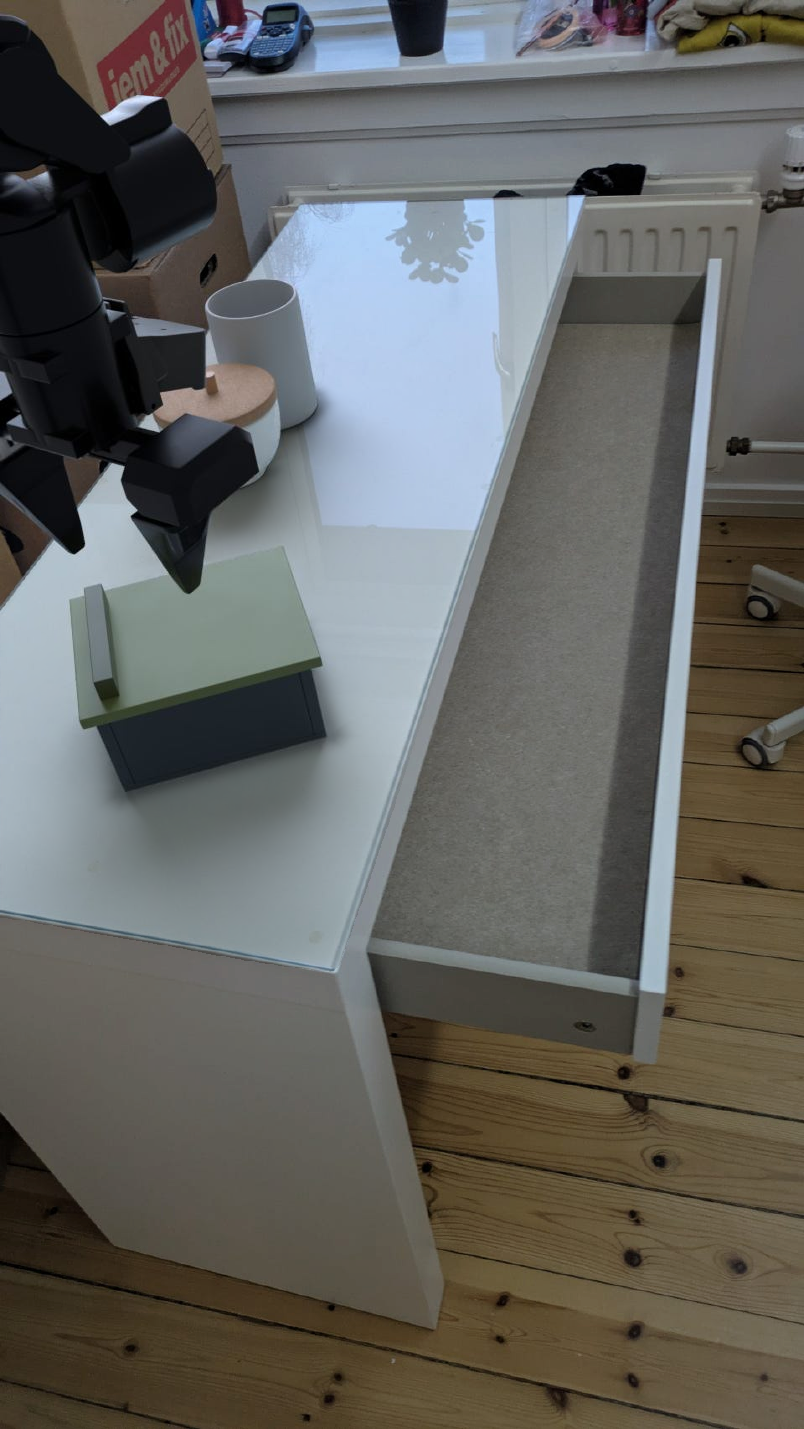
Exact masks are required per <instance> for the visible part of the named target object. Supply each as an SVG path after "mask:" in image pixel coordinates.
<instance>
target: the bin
mask: <svg viewBox="0 0 804 1429" xmlns="http://www.w3.org/2000/svg"><path fill="white" fill-rule="evenodd" d="M95 728H96V729H97V731H98V734H99V736H100V739H101V740H102V743H103V745H104V748H105V750H106V752H107V755H108V757H109V759H110V762H111V764H112V766H113V768H114V771H115V773H116V775H117V777H118V780H119V782H120V784H121V786H122V789H123V791H124V792H125V793H126V792H130V791H133V790H137V789H141V788H145V787H148V786H152V785H156V784H159V783H163V782H166V781H170V780H174V779H178V778H181V777H185V776H189V775H192V774H196V773H199V772H202V771H203V772H204V771H207V770H210V769H214V768H219V767H222V766H225V765H228V764H232V763H236V762H239V761H243V760H247V759H251V758H254V757H258V756H261V755H264V754H268V753H269V754H270V753H272V752H276V751H279V750H283V749H287V748H290V747H294V746H298V745H301V744H305V743H309V742H313V741H316V740H319V739H323V738H326V737H327V736H328V735H327V731H326V727H325V723H324V718H323V714H322V709H321V705H320V700H319V695H318V692H317V688H316V682H315V679H314V674H313V669H310V670H306V671H302V672H298V673H295V674H291V675H287V676H283V677H280V678H276V679H272V680H268V681H265V682H261V683H257V684H253V685H250V686H246V687H242V688H238V689H235V690H231V691H227V692H223V693H220V694H216V695H212V696H208V697H204V698H201V699H197V700H193V701H189V702H186V703H182V704H178V705H174V706H171V707H167V708H163V709H159V710H156V711H152V712H148V713H144V714H141V715H137V716H133V717H129V718H126V719H122V720H118V721H114V722H111V723H107V724H103V725H99V726H96V727H95Z"/></svg>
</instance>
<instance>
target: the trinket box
mask: <svg viewBox="0 0 804 1429" xmlns="http://www.w3.org/2000/svg"><path fill="white" fill-rule="evenodd" d="M160 394H161V398H162V402H163V406H162V407H160V408H159V409H157V410H156V411H155V412H153V413H152V414H151V415H152V417H153V421H154V422H155V423H156V425H157V429H158V432H160V431H161V430H163V429H164V428H166V427H167V426H168V425H170V424H171V423H172V422H174V421H175V420H177V419H178V418H179V417H181V416H182V415H183V414H185V413H187V414H191V415H195V416H199V417H203V418H207V419H212V420H216V421H220V422H224V423H228V424H232V425H236V426H238V427H240V428H242V429H244V430H246V431H248V432H250V433H251V438H252V442H253V446H254V450H255V455H256V459H257V464H258V468H259V473H257V474H256V475H255V476H254V477H253V478H251V479H250V480H249V481H248V482H246V483H245V484H244V485H243V486H242V487H240V488H239V489H241V488H244V487H246V486H250V485H252V484H253V483H255V482H256V481H258V480H259V479H260V478H261V477H262V476H263V475H264V474H265V472H266V470H267V467H268V466H269V464H271V462H272V460H273V459H274V457H275V455H276V452H277V450H278V448H279V443H280V439H281V430H280V429H281V423H280V411H279V405H278V400H277V388H276V383H275V380H274V378H273V377H272V375H271V374H270V373H269V372H267V371H266V370H264V369H262V368H260V367H258V366H254V365H250V364H244V363H222V364H218V363H214V364H209V365H208V364H207V365H206V387H205V388H204V389H202V390H193V389H192V388H186V389H180V390H174V391H168V392H161V393H160Z"/></svg>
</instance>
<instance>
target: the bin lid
mask: <svg viewBox="0 0 804 1429" xmlns="http://www.w3.org/2000/svg"><path fill="white" fill-rule="evenodd" d="M291 568H292V567H291V564H290V562H289V560H288V557H287V554H286V551H285V548H284V546H283V545H279V546H276V547H272V548H268V549H264V550H261V551H256V552H252V553H248V554H245V555H240V556H237V557H232V558H229V559H228V558H227V559H225V560H221V561H216V562H213V563H209V564H203V570H202V578H201V584H200V586H199V587H198V588H197V589H195V590H194V591H193V592H192V593H191V594H186V593H184V592H183V591H182V590H181V589H180V587H179V586H178V585H177V584H176V582H175V581H174V580H173V579H172V577H171V576H170V575H169V573H168V574H164V575H161V576H156V577H153V578H149V579H144V580H140V581H137V582H133V583H130V584H125V585H122V586H118V587H113V588H111V589H110V588H109V589H106V590H105V589H104V587H103V584H102V583H98V584H97V583H96V584H94V585H89V586H86V587H84V588H83V594H84V595H81V596H77V597H74V598H70V599H69V601H68V602H69V611H70V613H69V614H70V625H71V626H70V627H71V636H72V637H71V638H72V650H73V662H74V673H75V674H74V675H75V688H76V701H77V709H78V711H77V712H78V721H79V724H80V726H81V728H82V730H88V729H91V728H97V727H96V726H99V725H103V724H107V723H111V722H114V721H118V720H122V719H126V718H129V717H133V716H137V715H141V714H144V713H148V712H152V711H156V710H159V709H163V708H167V707H171V706H174V705H178V704H182V703H186V702H189V701H193V700H197V699H201V698H204V697H208V696H212V695H216V694H220V693H223V692H227V691H231V690H235V689H238V688H242V687H246V686H250V685H253V684H257V683H261V682H265V681H268V680H272V679H276V678H280V677H283V676H287V675H291V674H295V673H298V672H302V671H306V670H310V669H312V670H313V669H316V668H321V667H323V661H322V660H323V659H322V656H321V653H320V651H319V647H318V645H317V642H316V639H315V636H314V633H313V630H312V627H311V624H310V621H309V618H308V614H307V612H306V609H305V607H304V604H303V601H302V598H301V594H300V592H299V588H298V586H297V583H296V580H295V577H294V575H293V571H292V569H291Z"/></svg>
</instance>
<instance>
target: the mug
mask: <svg viewBox="0 0 804 1429" xmlns="http://www.w3.org/2000/svg"><path fill="white" fill-rule="evenodd" d="M204 310H205V316H206V320H207V325H208V329H209V333H210V337H211V342H212V345H213V349H214V353H215V357H216V361H217V364H222V363H244V364H250V365H254V366H258V367H260V368H262V369H264V370H266V371H267V372H269V373H270V374H271V375H272V377H273V378H274V380H275V383H276V388H277V400H278V405H279V411H280V423H281V429H280V431H282V430H286V429H289V428H291V427H294V426H297V425H299V424H301V423H303V422H305V421H306V420H307V419H308V418H310V417H311V416H312V415H313V414H314V412H315V411H316V409H317V407H318V393H317V387H316V383H315V378H314V373H313V368H312V364H311V363H312V362H311V359H310V353H309V347H308V341H307V336H306V331H305V325H304V320H303V314H302V309H301V304H300V298H299V294H298V291H297V289H296V287H295V286H294V285H293V284H292V283H290V282H287V281H285V280H281V279H277V278H276V279H275V278H255V279H247V280H244V281H240V282H236V283H232V284H230V285H227V286H225V287H223V288H221V289H219V290H217V291H216V292H214V293H213V294H212V295H210V297H209V298H207V300H206V303H205V306H204Z"/></svg>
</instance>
